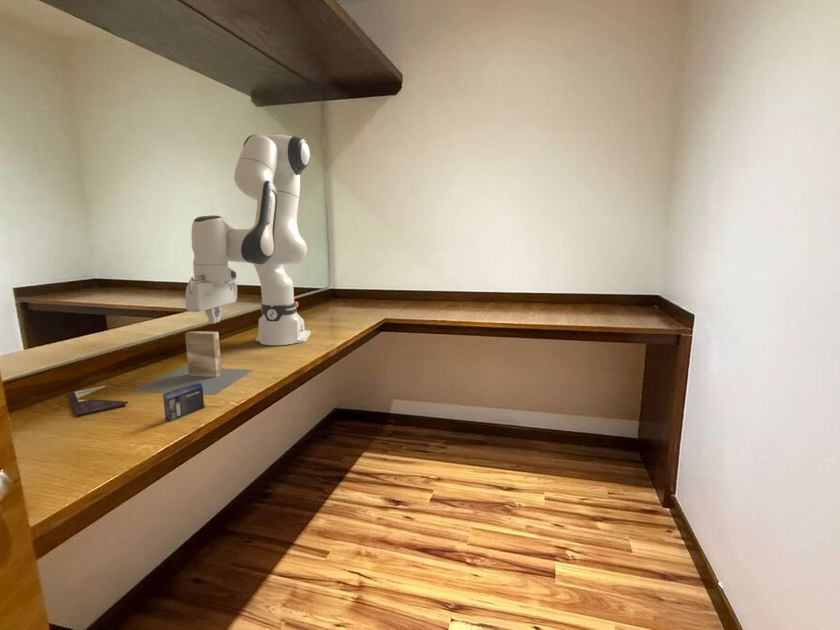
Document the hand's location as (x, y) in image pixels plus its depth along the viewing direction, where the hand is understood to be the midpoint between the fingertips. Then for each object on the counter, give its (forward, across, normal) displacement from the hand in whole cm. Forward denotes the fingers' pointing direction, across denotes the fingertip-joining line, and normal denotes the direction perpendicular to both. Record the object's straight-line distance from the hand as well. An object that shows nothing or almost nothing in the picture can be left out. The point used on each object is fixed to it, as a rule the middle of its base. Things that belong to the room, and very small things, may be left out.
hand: (214, 322), depth 124 cm
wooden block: (+14, -6, 0) cm, 15 cm away
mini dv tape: (+15, -30, -10) cm, 35 cm away
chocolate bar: (+15, -25, +16) cm, 33 cm away
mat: (+14, -10, 0) cm, 17 cm away
